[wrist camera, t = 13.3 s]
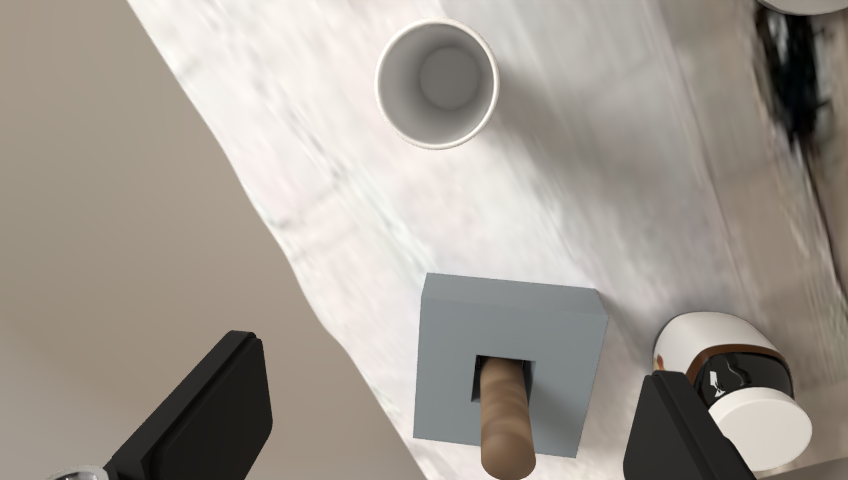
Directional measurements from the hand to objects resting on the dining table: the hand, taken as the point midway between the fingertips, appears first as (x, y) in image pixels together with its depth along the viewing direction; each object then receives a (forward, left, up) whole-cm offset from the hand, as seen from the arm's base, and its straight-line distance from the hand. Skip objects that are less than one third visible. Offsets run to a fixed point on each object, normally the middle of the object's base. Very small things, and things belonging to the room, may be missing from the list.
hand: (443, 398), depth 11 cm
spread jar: (-25, +18, -31) cm, 44 cm away
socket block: (-5, +20, -31) cm, 37 cm away
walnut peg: (-5, +20, -31) cm, 37 cm away
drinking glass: (+2, -6, -31) cm, 32 cm away
